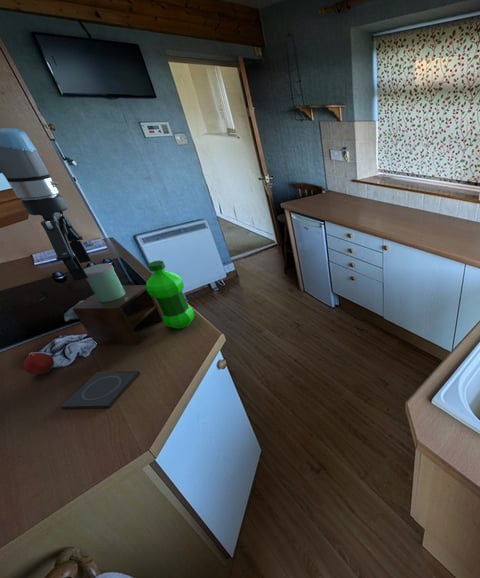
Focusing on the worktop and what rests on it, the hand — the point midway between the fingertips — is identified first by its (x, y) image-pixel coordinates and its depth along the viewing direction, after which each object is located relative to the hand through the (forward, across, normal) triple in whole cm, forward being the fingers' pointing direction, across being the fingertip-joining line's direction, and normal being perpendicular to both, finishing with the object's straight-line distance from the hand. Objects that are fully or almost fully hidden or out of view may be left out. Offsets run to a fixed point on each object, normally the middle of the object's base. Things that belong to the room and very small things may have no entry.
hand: (83, 269), depth 86 cm
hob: (+27, -23, +5) cm, 36 cm away
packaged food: (+27, +27, +10) cm, 39 cm away
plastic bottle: (+27, -2, -17) cm, 32 cm away
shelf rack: (+27, +4, -2) cm, 27 cm away
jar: (+12, +4, -2) cm, 13 cm away
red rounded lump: (+27, -4, +19) cm, 33 cm away
